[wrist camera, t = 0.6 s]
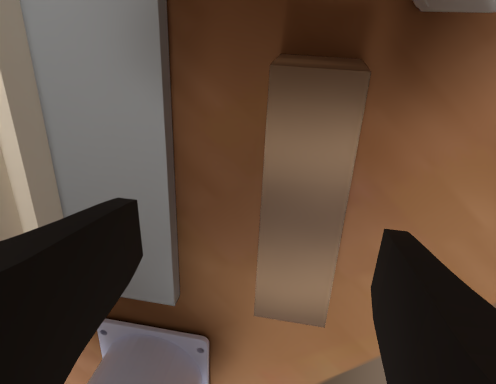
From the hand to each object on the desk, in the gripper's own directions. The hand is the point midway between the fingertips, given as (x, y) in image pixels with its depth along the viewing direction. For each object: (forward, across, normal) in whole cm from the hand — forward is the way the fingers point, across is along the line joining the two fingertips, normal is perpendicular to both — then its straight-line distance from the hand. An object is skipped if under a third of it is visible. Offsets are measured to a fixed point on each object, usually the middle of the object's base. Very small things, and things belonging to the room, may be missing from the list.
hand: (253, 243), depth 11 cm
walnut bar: (+9, -1, +2) cm, 9 cm away
